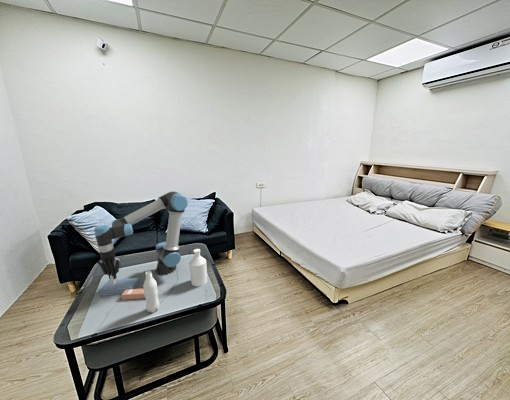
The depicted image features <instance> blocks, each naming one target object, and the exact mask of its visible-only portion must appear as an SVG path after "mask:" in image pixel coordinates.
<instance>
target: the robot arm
mask: <svg viewBox="0 0 510 400" xmlns="http://www.w3.org/2000/svg"><path fill="white" fill-rule="evenodd" d="M188 204H189V201H188V198H187V197H186V196H185V195H184V194H183V193H180V192H178V191H169V192H167V193H165V194H162V195H160V196H159V197H157V199H156V200H154V201H153V202H150V203H149V204H146V205H145V206H143V207H140V208H138V209H137V210H135V211H133V212H131V213H129V214H127V215H125V216H124V217H122V218H117V219H114V220H113V221H112V222H111V226H109V225H108V224H104V225H103V224H101V225H99V226H96V227H95V228H94V236H95V240H96V243H97V248H98V252H99V257H100V260H98V261H97V264H98V265H99V266H100V268H101V270H102V272H103V274H104V276H105V275H106V276H108V279H109V280H111V283H112V285H113V284H115V283H116V279H117V277H118V276H117V274H118V273H119V272H120V261H121V258H117V256H116V252H115V248H114V245H113V244H114V243H113V240H116V239H120V238H123V237H128V236H130V235H133V233H134V229H133V225H135V224H137V223H139V222H140V221H142V220H144V219H145V218H148V217H149V216H151V215H153V214H155V213H158V212H159V211H161V210H163V209H164V210H165V209H167V213H168V214H169V215H168V222H167V223H168V224H167V233H166V237H165V238H166V239H165V240H166V241H162V242H159V243H156V245H155V252H156V253H155V254H156V259H157V264H156V268H155V272H156V274H157V273H158V274H157V275H160V274H165V275H169V274H172V273H174V272H175V271H176V270H177V265H178V264H179V263H180V262H181V254H180V249H181V248H180V245H179V239H180V230H181V224H182V216H183V214H184V213H185V211H186V208H187V207H188ZM174 270H175V271H174ZM173 271H174V272H173ZM171 272H172V273H171ZM168 273H169V274H168Z"/></svg>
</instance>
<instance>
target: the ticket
mask: <svg viewBox="0 0 510 400" xmlns="http://www.w3.org/2000/svg"><path fill="white" fill-rule="evenodd" d="M138 284H139V278H138V277H136V278H135V277H134V278H119V279H117V278H116V283H115V284H113V285H112V283H111V279H109V280H107V282H105V283H104V285H103V286H102V287H100V289H98V292H99V296H108V295H122V294H123V292H124V291H125V290H128V289H136V287H138V286H137V285H138Z"/></svg>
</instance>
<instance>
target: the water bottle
mask: <svg viewBox="0 0 510 400" xmlns="http://www.w3.org/2000/svg"><path fill="white" fill-rule="evenodd" d="M157 284H158V283H157V281H156V280H155V278H154V277H153V274H152V270H148V271H146V272H145V280H144V283H143V285H142V286H143V288H144V295H145V298H144V299H145V302H146V304H145V307H146V311H147V312H148V313H151V314H152V313H155V312H156V311H158V310H159V309H160V299H159V296H158V295H159V291H158V285H157ZM143 288H142V289H143Z"/></svg>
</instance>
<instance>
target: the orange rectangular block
mask: <svg viewBox="0 0 510 400" xmlns="http://www.w3.org/2000/svg"><path fill="white" fill-rule="evenodd" d="M137 299H146V298H145V295H144V288H134V289H128V290H125V291H124V292H123V294H121V300H122V301H123V300H125V301H126V300H137Z"/></svg>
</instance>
